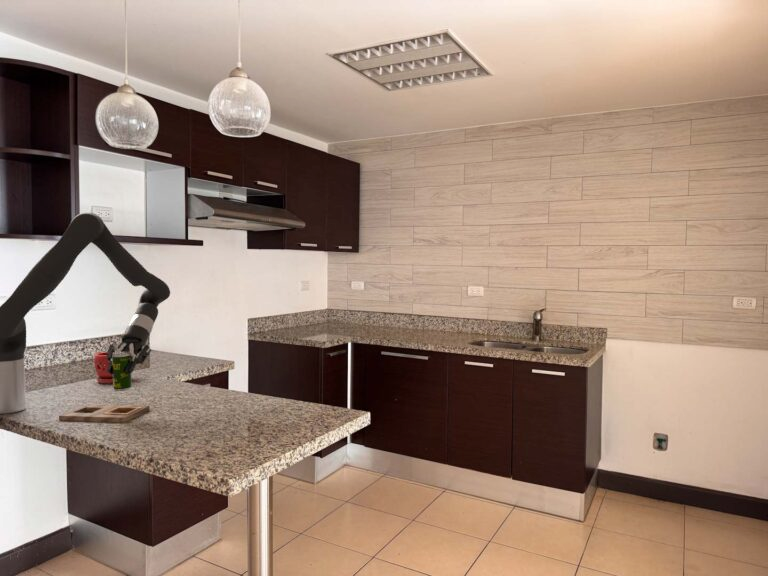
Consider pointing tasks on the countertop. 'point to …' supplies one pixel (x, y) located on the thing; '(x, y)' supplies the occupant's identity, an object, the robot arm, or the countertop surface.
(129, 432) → the countertop surface
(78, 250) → the robot arm
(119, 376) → the beer can
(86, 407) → the socket board
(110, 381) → the plant pot
